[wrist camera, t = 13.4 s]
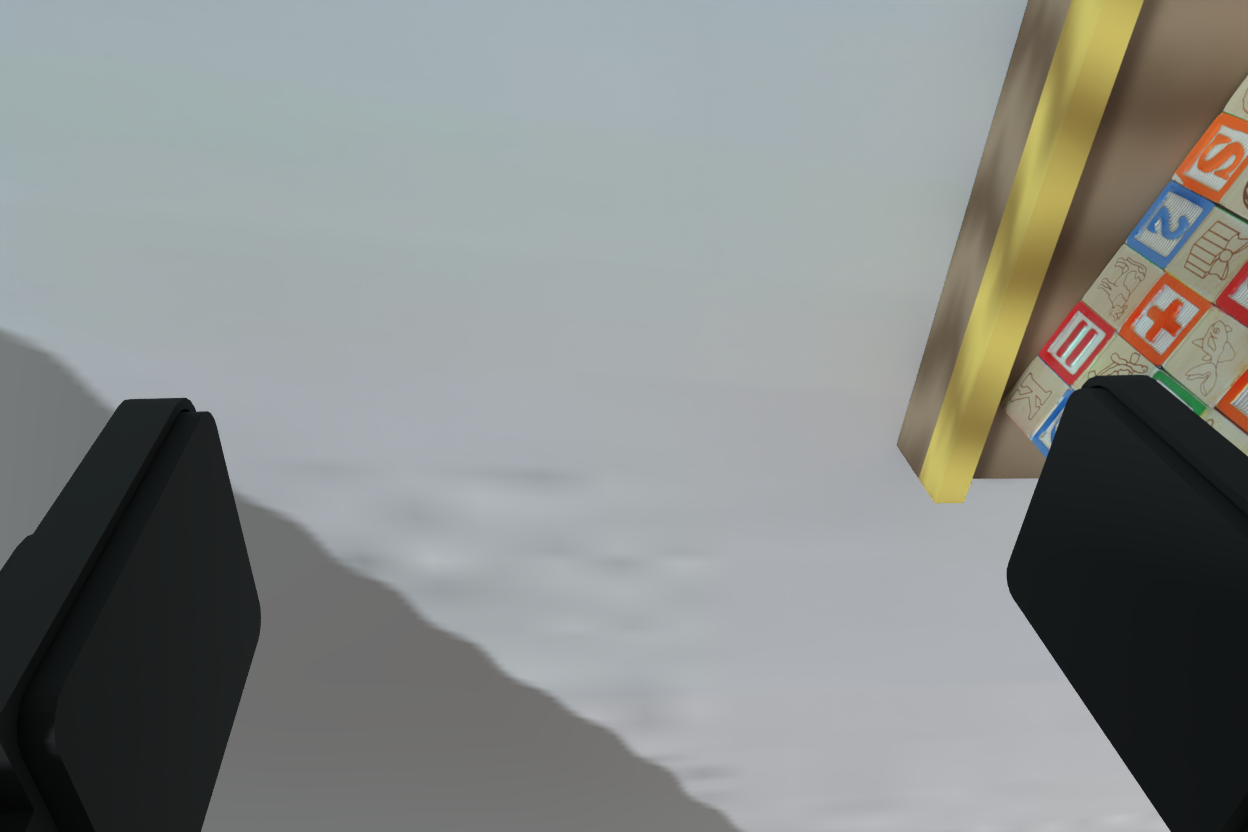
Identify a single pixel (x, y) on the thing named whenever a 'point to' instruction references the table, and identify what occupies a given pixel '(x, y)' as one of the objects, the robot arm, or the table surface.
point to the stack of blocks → (1165, 299)
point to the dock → (1059, 206)
